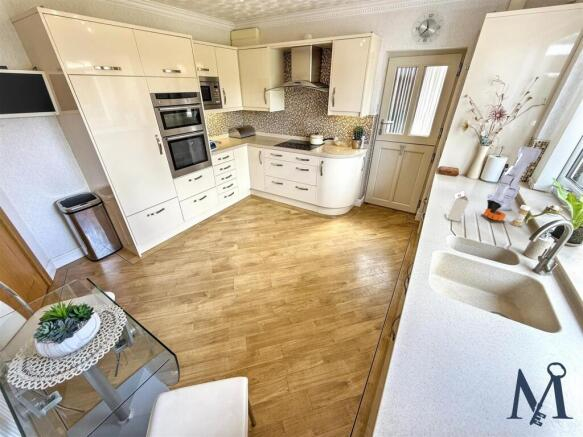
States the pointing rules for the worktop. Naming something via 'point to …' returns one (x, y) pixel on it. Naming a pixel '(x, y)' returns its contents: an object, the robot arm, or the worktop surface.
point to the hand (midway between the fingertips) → (490, 211)
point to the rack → (493, 219)
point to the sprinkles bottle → (520, 215)
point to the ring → (499, 215)
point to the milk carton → (457, 206)
